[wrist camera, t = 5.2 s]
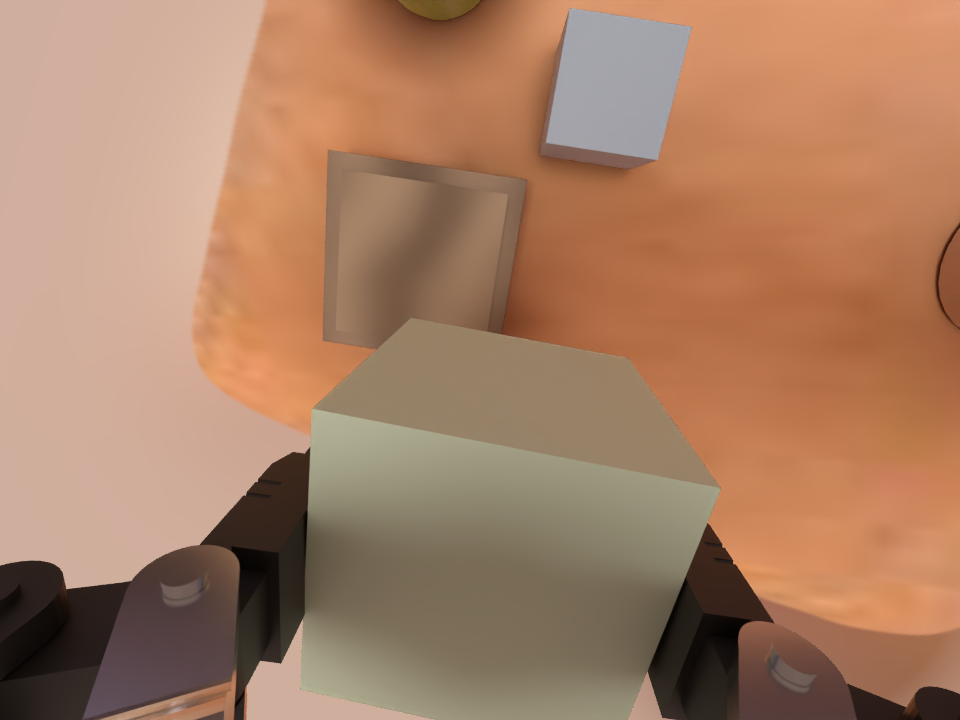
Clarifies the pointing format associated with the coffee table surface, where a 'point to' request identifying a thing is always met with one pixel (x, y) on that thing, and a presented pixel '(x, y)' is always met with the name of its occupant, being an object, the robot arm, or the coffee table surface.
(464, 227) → the walnut square pad
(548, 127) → the slate block
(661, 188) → the coffee table surface
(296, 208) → the coffee table surface
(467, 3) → the plant pot
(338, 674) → the sage block
